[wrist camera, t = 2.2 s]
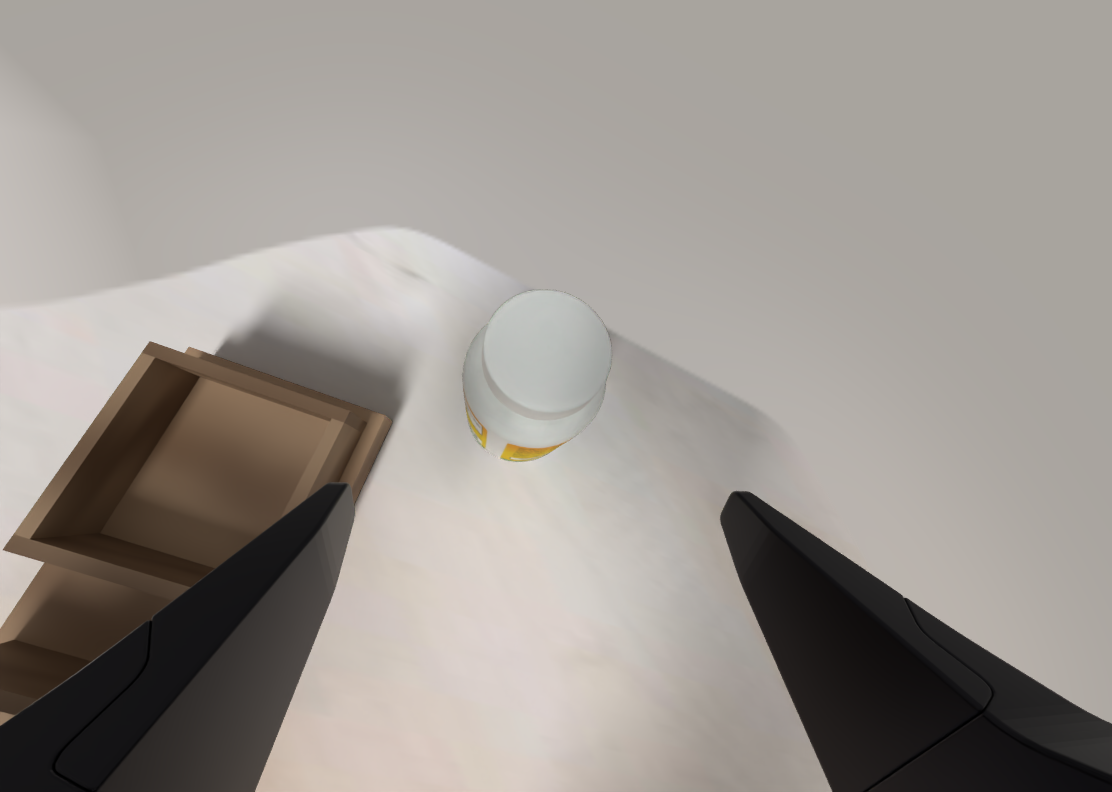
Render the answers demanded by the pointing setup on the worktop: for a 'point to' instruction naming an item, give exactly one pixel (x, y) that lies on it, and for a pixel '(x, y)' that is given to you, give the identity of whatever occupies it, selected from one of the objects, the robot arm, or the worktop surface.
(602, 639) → the worktop surface
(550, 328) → the supplement bottle
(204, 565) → the wooden compartment tray
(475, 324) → the worktop surface
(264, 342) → the worktop surface
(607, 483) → the worktop surface
